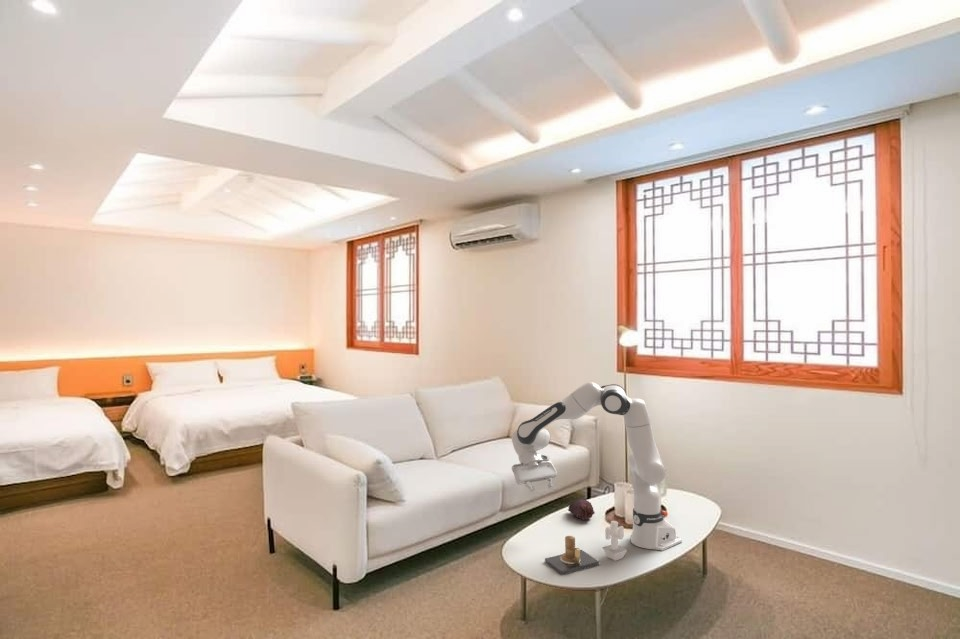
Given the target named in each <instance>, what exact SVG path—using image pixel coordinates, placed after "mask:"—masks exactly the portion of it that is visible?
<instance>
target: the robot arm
mask: <svg viewBox="0 0 960 639" xmlns="http://www.w3.org/2000/svg"><path fill="white" fill-rule="evenodd" d="M597 406H601V407H602V409H603V410H604V411H605V412H606V413H608V414H613V415H617V416H618V415H619V416H623V419H624V425H625V431H626V435H627V441H628V445H629V446H630V448H631V452H630V453H629V455H628V458H627V462H628V466H629V471H630V478H631V479H630V480H631V484H632V490H633V509H632V518H633V521H632V522H633V523H632V531H631V537H630V543H632V544H633V545H634V546H636V547H639V548H643V549H648V550H657V551H661V552H662V551H665V550H667V549H670V548H671V547H674V546H676V545H678V544H681V543H682V541H683V540H682V538H681V537H680V536H679V535H677V532H676V529H675V526H674V525H672V524H671V523H670V522H669V521H667V520H666V519H665V518H664V517H668V515H669V513H668V511H665V510H661V500H660V499H661V493H660V490H659V487H658V485H661V483H663V482H664V481H665V479H666V475H667V470H666V469H665V466H664V464H663V461H662V457H661V454H660V451H659V449H658V446H657V444H656V440H655V437H654V436H655V435H654V431H653V426H652V420H651V416H650V413H649V410H648V407H647V404H646V402H645V400H643V399H641V398H638V397H637V398H635V397H634V398H630V397H629V396H628V395H627V391H626V390H625V388H624V387H622V386H621V385H620V384H616V383H615V384H614V383H613V384H606V385H602V386H600V385H598V383H596V382H593V381H588V382H586V383H584V384H582V385H581V386H579V387H578V388H576V389H575V390H574V391H572V392H571V393H570V394H569V395H567V396H566V397H564V398H563V399H561V400H560V401H557V402H555V403H554V404H551V405H550V406H549V407H547V408H546V409H544V410H543V411H541V412H540V413H539V414H537V415H536V416H534V417H532V418H530V419H528V420H525V421H522V422H521V423H520V425H519V426H518V428H517V429H516V430H515V431H513V433H512V435H511V443H512V445H513V449H514V451H515V453H516V455H517V456H518V460H519V463H517V464H516V463H515V464H513V465H512V466H511V472H512V473H513V475H514V480H515V483H516V484H517V485H519V486H520V485H525V487H527V488H528V489H529V492H530V493H532V492H535V486H534V485H533V486H532V485H531V484H532V483H538V482H543V481H547V482H548V483H547V487H548V489H552V488H553V487H554V486H553V480H554V479H555V478H556V477H557V474H558V471H557V469H556V466H555V465H554V464H553V462H552V461H551V460H550V457H549V455H546V454H540V453H537V451H540V450H543V449H544V448H546V447H547V446H549V444H550V441H551V433H550V431H549V430H548V429H546V427H548V426H549V425H551V424H552V423H554V422H555V421H559V420H578V419H581V418H582V417H584V416H585V415H587V413H589V412H590V411H591V410H592V409H593V408H595V407H597ZM530 483H531V484H530Z"/></svg>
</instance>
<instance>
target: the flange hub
mask: <svg viewBox="0 0 960 639" xmlns="http://www.w3.org/2000/svg"><path fill="white" fill-rule="evenodd" d="M564 542H565V544H564V545H565V549H564V550H565V552H564V553H561V555H562V560H563V561H565V562H569V563H574V562H575V548H576V537H575V536H573V535H566V536H565V537H564Z"/></svg>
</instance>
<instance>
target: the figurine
mask: <svg viewBox="0 0 960 639" xmlns="http://www.w3.org/2000/svg"><path fill="white" fill-rule="evenodd" d="M624 528H625V527H624V526H623V525H619V522H618V521H617V520H611V521H610V526H606V527H605V534H604V535H605V539H606V540H608V541H609V540H610V544H609V545H605V546H602V550H603V551H604V553H605V555H606V557H607V558H609V559H611V560H613V561H615V562H616V561H618V560H621V559H623V558H624V557H625V555H626V553H627V551H628V549H627V548H625V547H623V546H621V545H619V540H623V539H624V536H625V535H624V534H625V530H624Z"/></svg>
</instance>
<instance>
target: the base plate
mask: <svg viewBox="0 0 960 639" xmlns="http://www.w3.org/2000/svg"><path fill="white" fill-rule="evenodd" d="M544 563H546V564H547V565H548V566H549V567H551V568H552V569H553V570H554V571H555V572H557V573H558V574H560V576H563V575H566V574H570V573H575V572H578V571H582V570H585V569H590V568H593V567H597V566H599V565H600V560H598V559H597V558H594V557H593V556H592V555H590V554H589V553H587V552H585V550H583V549H580V565H575V562H574V563H569V562H565V561H563V560H562V554H557V555H554V556H550V557H546V558H544Z"/></svg>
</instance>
